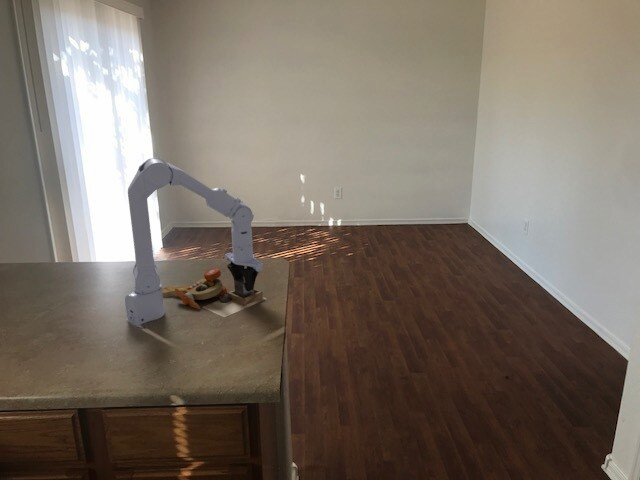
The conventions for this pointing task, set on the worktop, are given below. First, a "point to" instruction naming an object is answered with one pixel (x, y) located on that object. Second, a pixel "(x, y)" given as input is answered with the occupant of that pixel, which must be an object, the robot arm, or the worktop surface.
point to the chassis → (234, 303)
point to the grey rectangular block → (242, 288)
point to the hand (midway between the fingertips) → (244, 288)
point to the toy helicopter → (198, 289)
